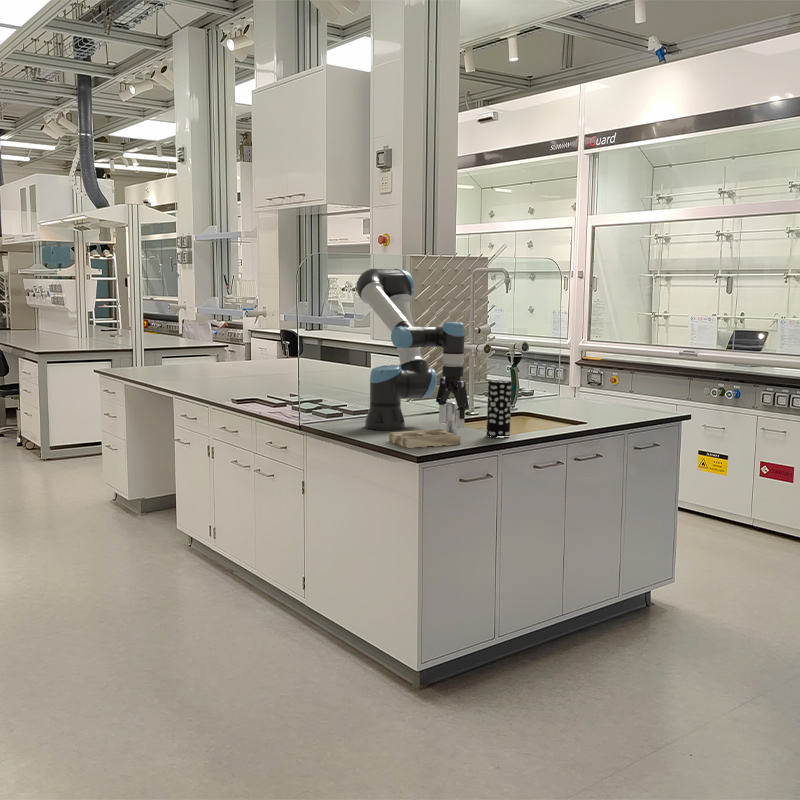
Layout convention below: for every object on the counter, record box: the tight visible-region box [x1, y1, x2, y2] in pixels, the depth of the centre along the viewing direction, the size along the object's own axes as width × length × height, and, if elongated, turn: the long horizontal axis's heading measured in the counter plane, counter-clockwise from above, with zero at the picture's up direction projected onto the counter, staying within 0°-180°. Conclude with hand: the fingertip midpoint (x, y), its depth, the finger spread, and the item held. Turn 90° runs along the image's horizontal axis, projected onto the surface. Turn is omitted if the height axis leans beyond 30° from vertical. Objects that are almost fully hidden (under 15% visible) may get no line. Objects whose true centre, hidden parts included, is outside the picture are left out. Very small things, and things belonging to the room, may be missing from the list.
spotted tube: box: [486, 379, 513, 438], centre depth 285 cm, size 8×8×20 cm
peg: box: [445, 401, 458, 435], centre depth 286 cm, size 4×4×12 cm
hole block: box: [388, 428, 461, 449], centre depth 272 cm, size 14×20×3 cm
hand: (451, 425), depth 286 cm, fingers open, 12 cm apart
